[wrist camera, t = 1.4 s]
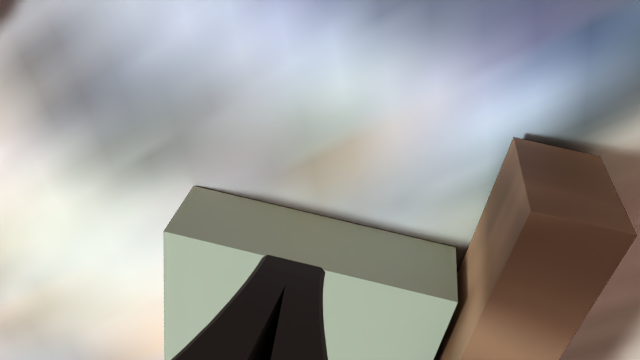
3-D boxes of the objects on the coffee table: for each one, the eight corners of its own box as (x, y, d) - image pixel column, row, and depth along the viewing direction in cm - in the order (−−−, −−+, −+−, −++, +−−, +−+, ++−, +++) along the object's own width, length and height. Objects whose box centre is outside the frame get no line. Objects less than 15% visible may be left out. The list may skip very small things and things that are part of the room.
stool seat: (388, 419, 24) (383, 476, 22) (187, 368, 25) (165, 419, 22) (455, 247, 18) (457, 302, 16) (193, 185, 19) (163, 231, 17)
